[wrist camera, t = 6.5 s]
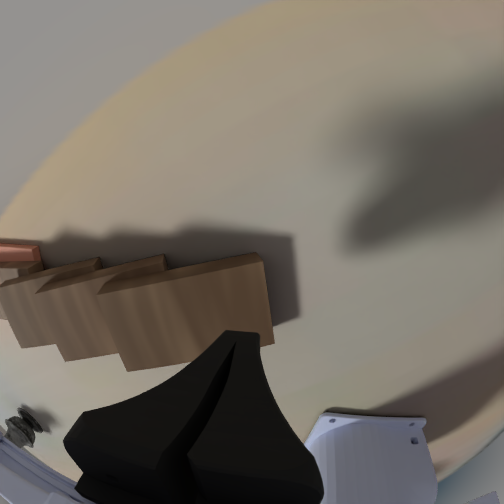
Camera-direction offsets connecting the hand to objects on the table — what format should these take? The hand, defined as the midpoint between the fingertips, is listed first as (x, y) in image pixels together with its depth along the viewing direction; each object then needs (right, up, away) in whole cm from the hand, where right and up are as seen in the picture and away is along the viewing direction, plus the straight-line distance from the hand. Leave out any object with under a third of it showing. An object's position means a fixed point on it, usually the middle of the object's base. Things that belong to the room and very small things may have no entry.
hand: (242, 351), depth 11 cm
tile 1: (+1, +1, +5) cm, 5 cm away
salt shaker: (-34, -22, +19) cm, 44 cm away
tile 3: (-9, +1, +6) cm, 11 cm away
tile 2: (-4, +1, +5) cm, 7 cm away
